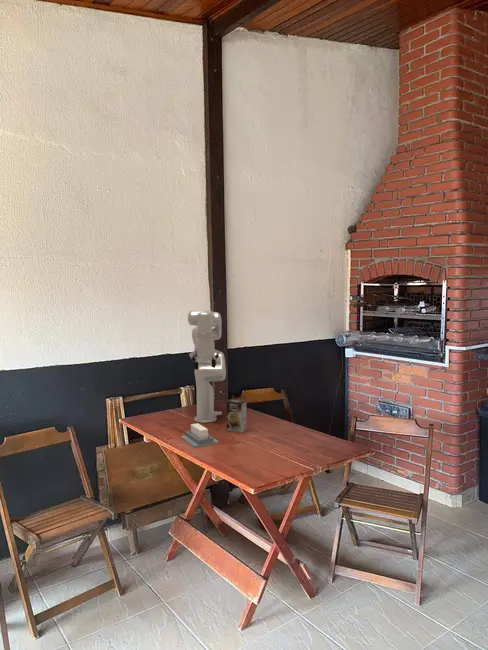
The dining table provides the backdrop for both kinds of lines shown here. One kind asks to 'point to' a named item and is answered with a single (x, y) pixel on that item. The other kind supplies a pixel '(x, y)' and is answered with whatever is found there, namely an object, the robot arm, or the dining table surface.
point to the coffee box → (236, 415)
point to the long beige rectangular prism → (199, 431)
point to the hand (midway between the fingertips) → (205, 368)
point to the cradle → (198, 440)
